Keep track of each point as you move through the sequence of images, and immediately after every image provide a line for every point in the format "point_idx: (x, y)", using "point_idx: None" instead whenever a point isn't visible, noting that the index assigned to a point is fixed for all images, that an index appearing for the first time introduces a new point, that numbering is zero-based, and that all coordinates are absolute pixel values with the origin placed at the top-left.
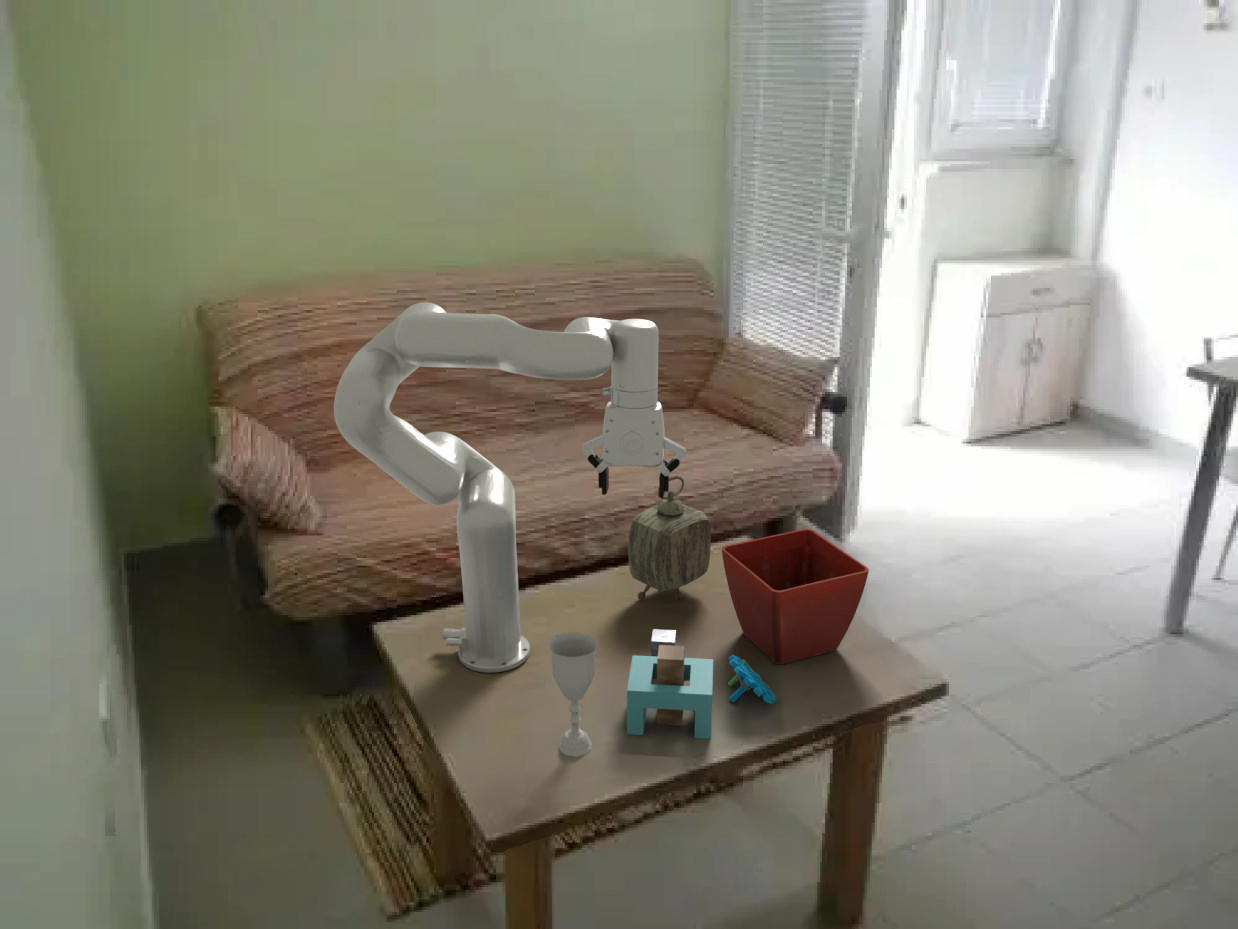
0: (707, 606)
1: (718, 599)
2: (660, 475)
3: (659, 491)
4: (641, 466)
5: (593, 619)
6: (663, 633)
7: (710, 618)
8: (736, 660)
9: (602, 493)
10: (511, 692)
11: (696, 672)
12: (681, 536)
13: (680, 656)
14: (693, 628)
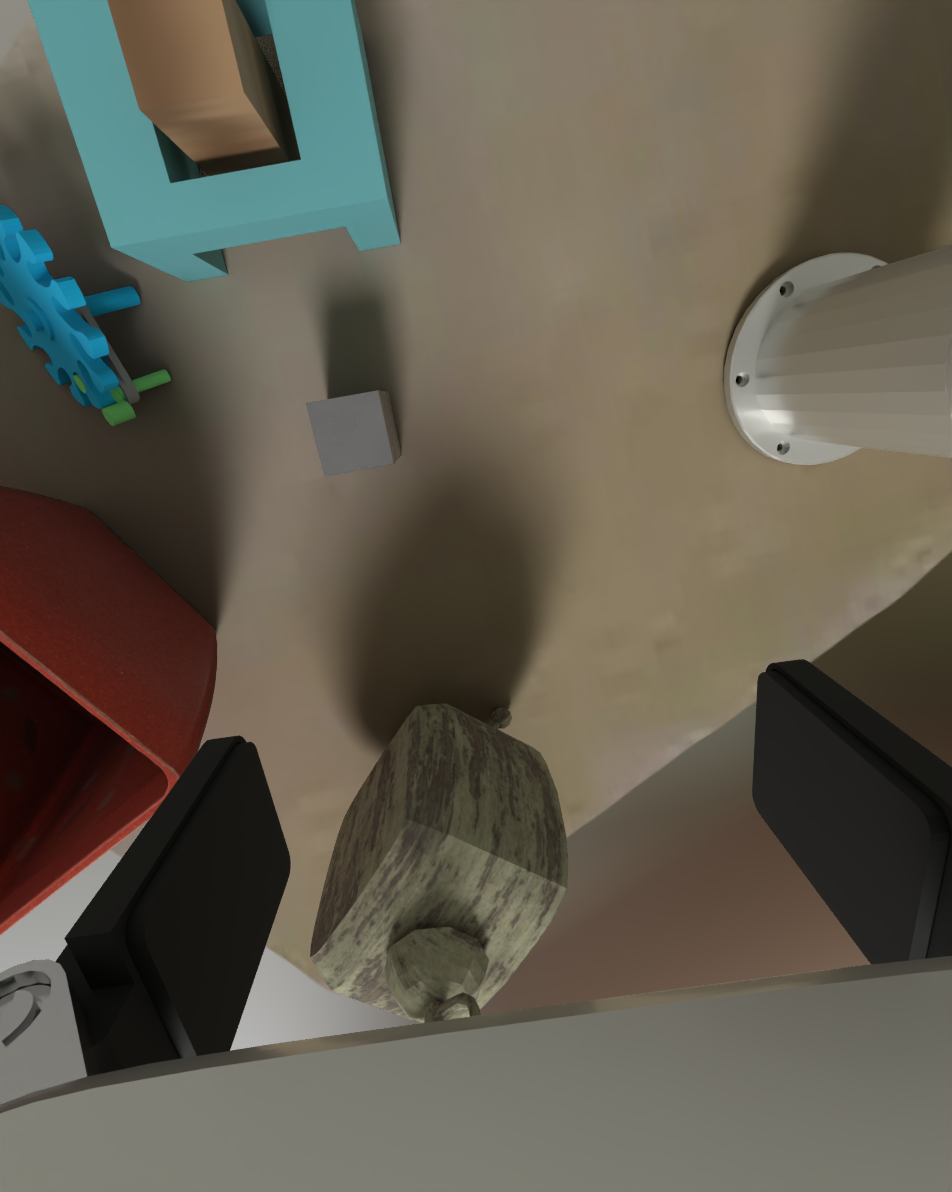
0: (338, 724)
1: (321, 759)
2: (145, 966)
3: (223, 775)
4: (346, 1034)
5: (595, 598)
6: (355, 447)
7: (315, 675)
8: (77, 330)
9: (802, 660)
10: (735, 177)
11: (131, 130)
12: (377, 848)
13: (122, 6)
14: (342, 621)
